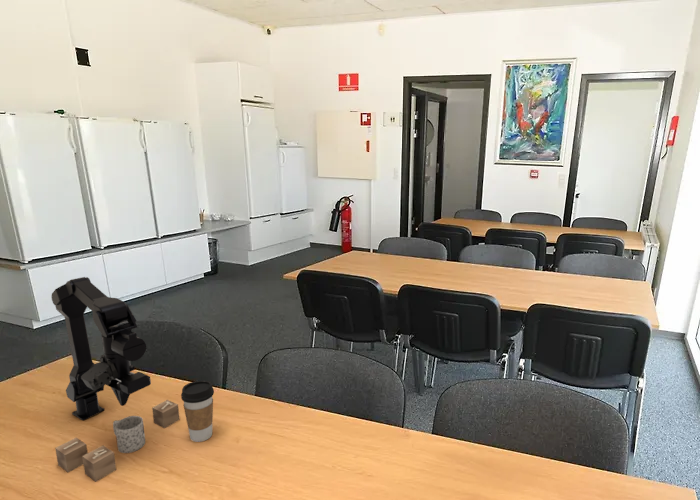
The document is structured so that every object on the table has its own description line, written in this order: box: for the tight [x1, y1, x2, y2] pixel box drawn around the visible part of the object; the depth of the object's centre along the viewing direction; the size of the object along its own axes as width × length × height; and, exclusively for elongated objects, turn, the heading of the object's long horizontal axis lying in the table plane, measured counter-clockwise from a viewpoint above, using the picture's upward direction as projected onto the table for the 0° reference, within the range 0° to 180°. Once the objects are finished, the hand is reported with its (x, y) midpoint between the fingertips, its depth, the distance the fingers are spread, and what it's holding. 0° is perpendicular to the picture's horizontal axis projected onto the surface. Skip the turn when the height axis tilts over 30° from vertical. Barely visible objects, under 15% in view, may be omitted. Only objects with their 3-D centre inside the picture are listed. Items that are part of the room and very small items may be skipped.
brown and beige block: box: [151, 399, 180, 429], centre depth 130 cm, size 5×5×5 cm
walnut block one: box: [55, 437, 89, 473], centre depth 112 cm, size 5×5×5 cm
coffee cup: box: [180, 380, 215, 443], centre depth 122 cm, size 8×8×15 cm
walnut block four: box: [82, 444, 117, 482], centre depth 109 cm, size 5×5×5 cm
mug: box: [112, 415, 146, 454], centre depth 120 cm, size 10×7×7 cm, turn 62°
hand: (123, 404), depth 118 cm, fingers closed
